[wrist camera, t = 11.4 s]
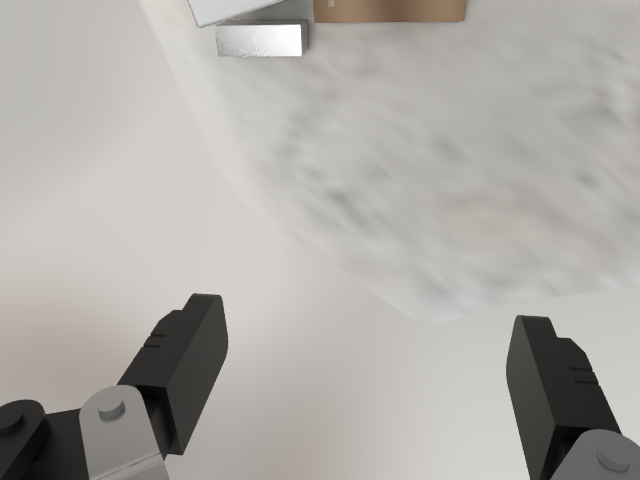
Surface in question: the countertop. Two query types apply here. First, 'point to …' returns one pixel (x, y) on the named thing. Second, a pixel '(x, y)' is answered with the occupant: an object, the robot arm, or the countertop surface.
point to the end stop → (262, 38)
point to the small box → (224, 9)
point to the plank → (388, 10)
